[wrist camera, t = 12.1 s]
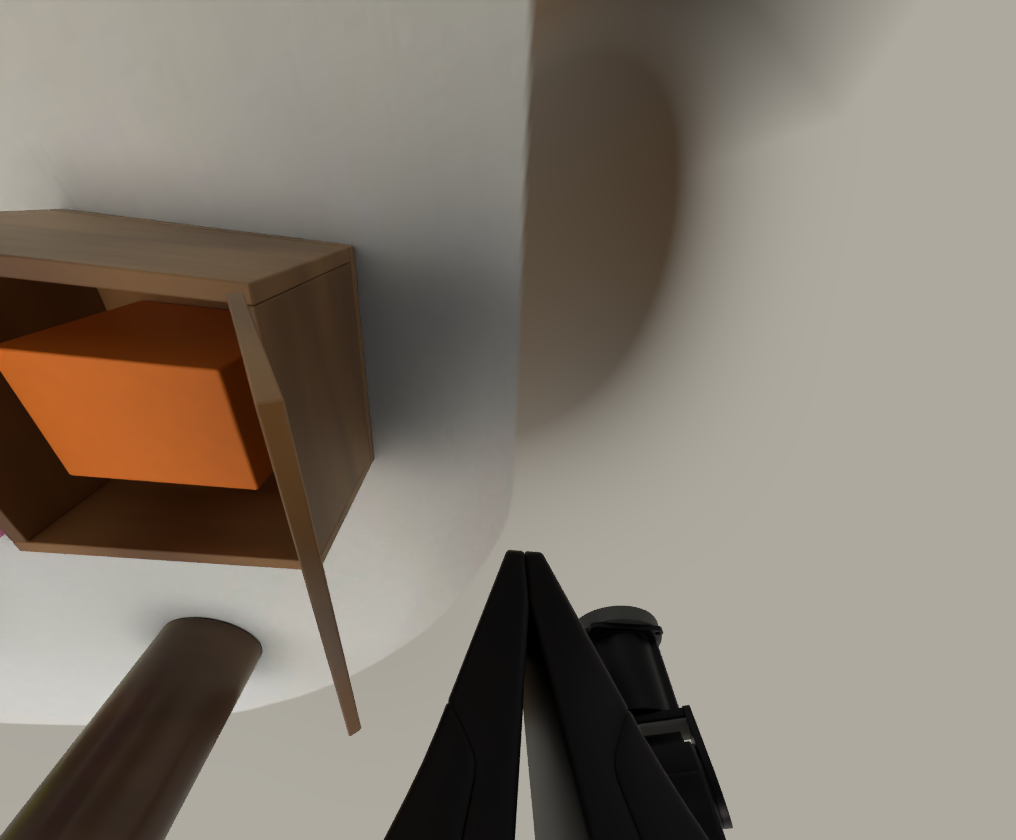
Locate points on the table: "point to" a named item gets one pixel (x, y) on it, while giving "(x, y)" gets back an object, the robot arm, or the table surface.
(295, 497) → the flap
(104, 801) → the stand
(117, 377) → the orange block
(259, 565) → the brown wooden open container
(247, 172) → the table surface
